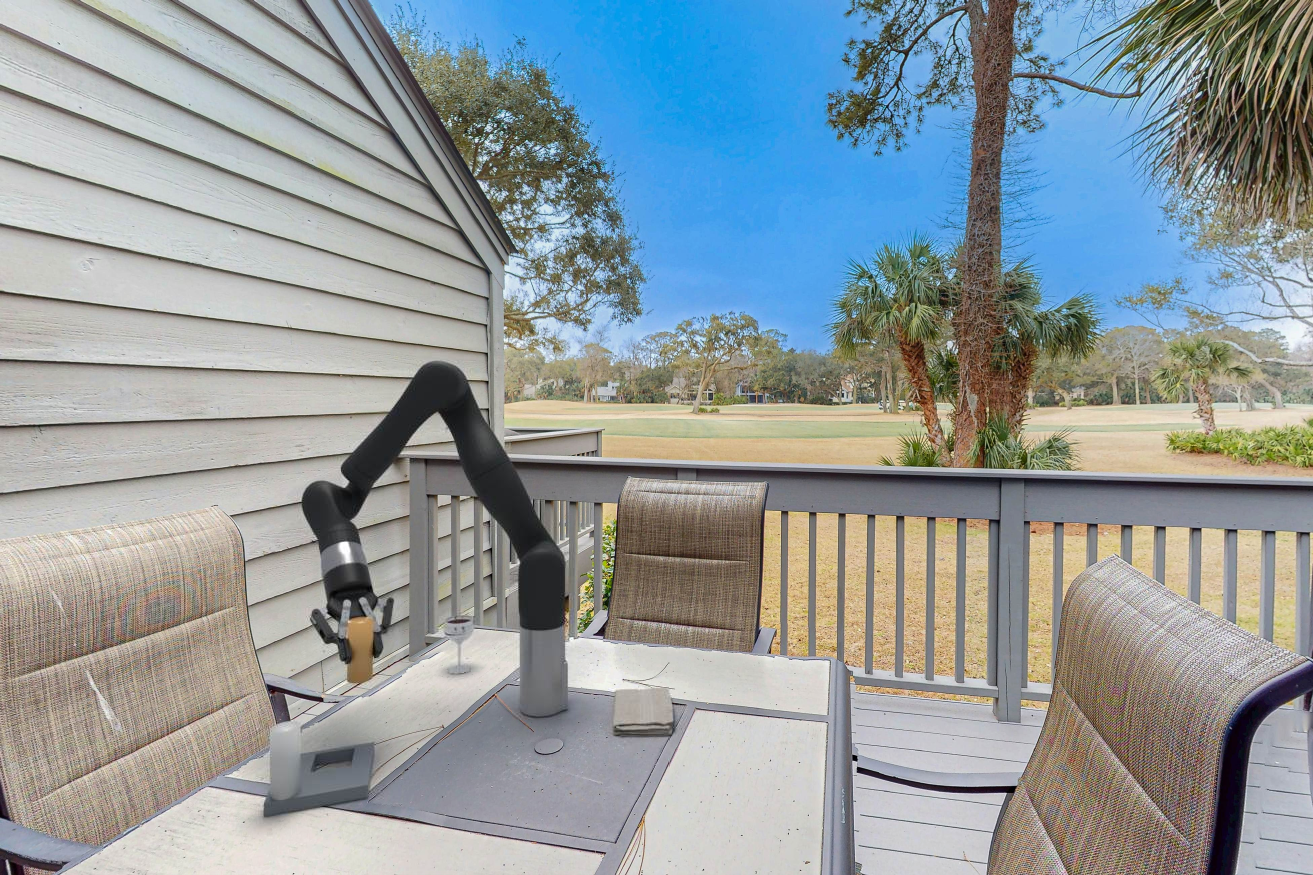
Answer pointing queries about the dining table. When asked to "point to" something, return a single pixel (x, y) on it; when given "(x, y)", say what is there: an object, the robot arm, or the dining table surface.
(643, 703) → the washcloth
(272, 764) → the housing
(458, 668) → the wineglass
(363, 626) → the orange cylinder
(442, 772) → the dining table surface
